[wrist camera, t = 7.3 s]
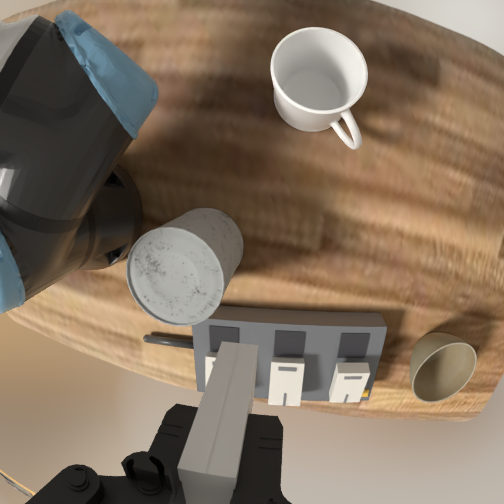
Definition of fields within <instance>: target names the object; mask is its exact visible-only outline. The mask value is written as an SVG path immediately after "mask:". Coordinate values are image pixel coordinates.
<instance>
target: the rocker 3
mask: <svg viewBox="0 0 504 504" xmlns="http://www.w3.org/2000/svg"><path fill="white" fill-rule="evenodd" d="M369 375H370V370H369V365H368V363H337V364H336V368H335V372H334V376H333V379H332V383H331V387H330V390H329V399H330V402H343V403H346V402H359V401H360V398H361V396H362V393H363V391H364V388H365V386H366V383H367V380H368V378H369Z"/></svg>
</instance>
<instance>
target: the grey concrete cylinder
mask: <svg viewBox="0 0 504 504" xmlns="http://www.w3.org/2000/svg"><path fill="white" fill-rule="evenodd" d="M243 249H244V246H243V238H242V235H241V232H240V230H239V228H238V226H237V225H236V223H235V222H234V221H233V220H232V219H231V218H230V217H229V216H227V215H226V214H225V213H223V212H221V211H219V210H216V209H212V208H196V209H193V210H190V211H188V212H187V213H185V214H183V215H182V216H180V217H178V218H176V219H174V220H172V221H170V222H168V223H166V224H164V225H162V226H160V227H158V228H156V229H153V230H150V231H149V232H147V233H145V234H144V235H142V236H141V237H140V238H139V239H138V240H137V241H136V242H135V243H134V245H133V247H132V248H131V250H130V252H129V255H128V259H127V263H126V277H127V282H128V286H129V289H130V291H131V294H132V296H133V297H134V299H135V300H136V302H137V304H138V305H139V306H140V307H141V308H142V309H143V310H144V311H145V312H146V313H147V314H148V315H150V316H151V317H153V318H154V319H156V320H158V321H160V322H162V323H164V324H168V325H172V326H190V325H195V324H198V323H200V322H202V321H204V320H206V319H207V318H208V317H210V316H211V315H212V314H213V313H214V312H215V310H216V309H217V308H218V306H219V305H220V302H221V300H222V297H223V295H224V292H225V290H226V288H227V286H228V284H229V282H230V280H231V278H232V276H233V274H234V272H235V270H236V268H237V267H238V265H239V264H240V261H241V259H242V256H243Z"/></svg>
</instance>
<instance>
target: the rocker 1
mask: <svg viewBox="0 0 504 504" xmlns="http://www.w3.org/2000/svg"><path fill="white" fill-rule="evenodd" d="M217 354H218V352H208V353H207V355H206V356H205V381H206V385H207V382H208V379H209V377H210V374H211V371H212V368H213V365H214V362H215V360H216V357H217Z"/></svg>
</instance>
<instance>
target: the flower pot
mask: <svg viewBox="0 0 504 504" xmlns="http://www.w3.org/2000/svg"><path fill="white" fill-rule="evenodd" d="M476 363H477V356H476V352H475V350H474V349H473V347H472V346H471V345H469V344H468V343H467V342H465V341H464V340H462V339H460V338H458V337H456V336H454V335H451V334H447V333H438V332H437V333H429V334H427V335H425V336H423V337H422V338H421V339H420V340H419V341H418V342H417V343H416V345H415V347H414V350H413V353H412V356H411V361H410V381H411V387H412V391H413V394H414V395H415V397H416V398H417V399H419V400H420V401H423V402H426V403H435V402H440V401H443V400H445V399H448V398H450V397H451V396H453V395H455V394H456V393H457V392H459V391H460V390H461V389H462V388H463V387H464V386H465V385H466V384H467V382H468V381H469V380H470V378H471V377H472V375H473V373H474V370H475V367H476Z"/></svg>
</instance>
